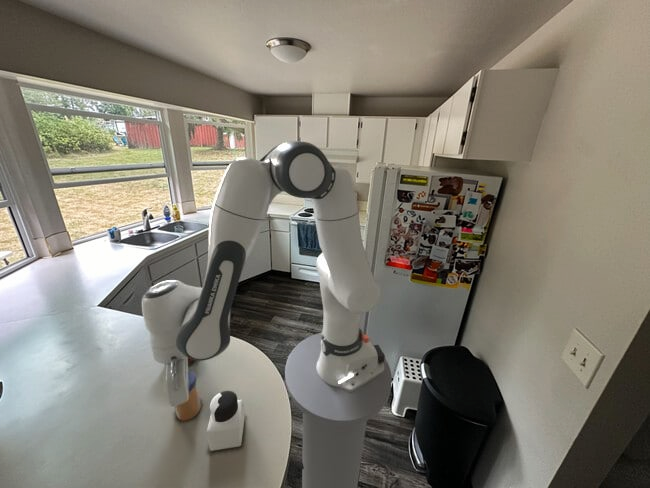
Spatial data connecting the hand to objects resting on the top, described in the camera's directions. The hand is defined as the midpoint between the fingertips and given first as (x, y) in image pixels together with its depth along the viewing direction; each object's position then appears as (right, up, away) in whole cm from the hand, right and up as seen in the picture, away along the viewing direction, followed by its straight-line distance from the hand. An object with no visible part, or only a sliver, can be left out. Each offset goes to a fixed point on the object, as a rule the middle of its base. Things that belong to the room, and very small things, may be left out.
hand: (183, 385), depth 65 cm
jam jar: (0, -8, +3) cm, 9 cm away
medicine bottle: (+13, -11, -2) cm, 17 cm away
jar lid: (0, +2, -1) cm, 2 cm away
